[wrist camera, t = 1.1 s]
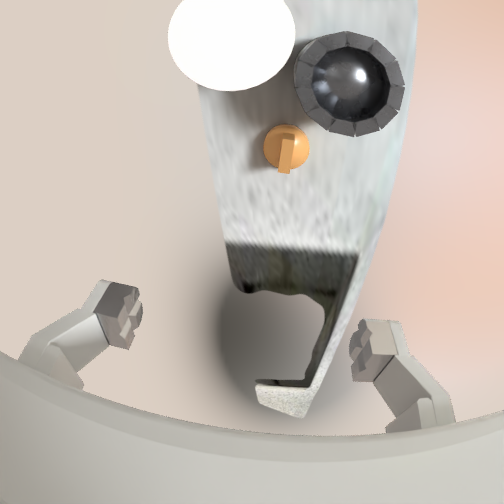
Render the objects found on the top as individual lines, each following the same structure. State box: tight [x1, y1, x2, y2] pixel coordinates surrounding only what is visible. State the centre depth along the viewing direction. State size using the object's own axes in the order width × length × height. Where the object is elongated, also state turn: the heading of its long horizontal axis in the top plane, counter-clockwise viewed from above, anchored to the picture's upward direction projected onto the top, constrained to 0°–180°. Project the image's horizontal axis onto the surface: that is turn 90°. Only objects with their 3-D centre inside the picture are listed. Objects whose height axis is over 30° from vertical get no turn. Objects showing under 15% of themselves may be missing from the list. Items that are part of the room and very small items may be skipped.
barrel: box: [294, 31, 405, 137], centre depth 29 cm, size 12×12×10 cm
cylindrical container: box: [168, 0, 295, 91], centre depth 22 cm, size 7×7×25 cm
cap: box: [263, 124, 309, 174], centre depth 40 cm, size 7×7×5 cm
